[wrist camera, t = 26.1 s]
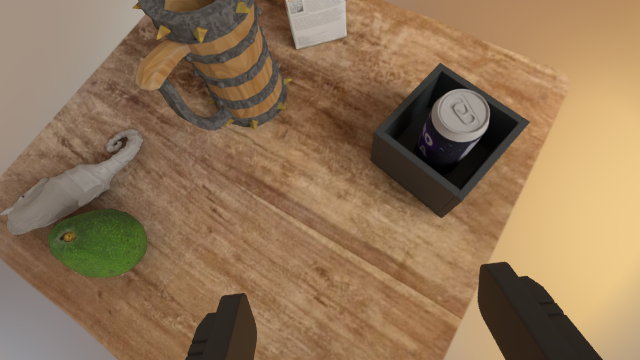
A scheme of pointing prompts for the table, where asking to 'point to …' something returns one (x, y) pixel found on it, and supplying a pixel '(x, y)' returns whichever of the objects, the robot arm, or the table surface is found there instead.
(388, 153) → the waste bin
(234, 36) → the mug
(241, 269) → the table surface
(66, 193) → the seahorse
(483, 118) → the beverage can
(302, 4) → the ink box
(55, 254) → the fruit
